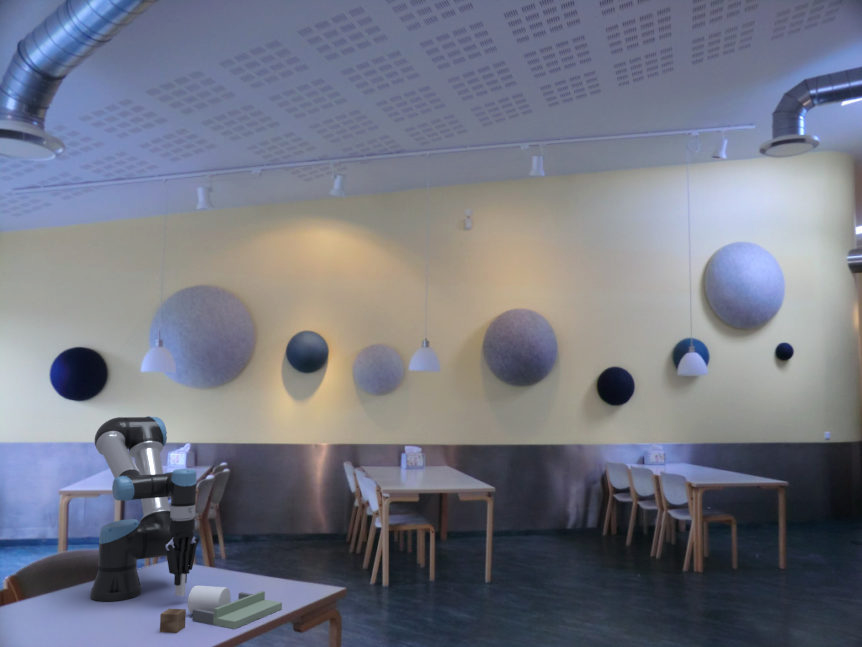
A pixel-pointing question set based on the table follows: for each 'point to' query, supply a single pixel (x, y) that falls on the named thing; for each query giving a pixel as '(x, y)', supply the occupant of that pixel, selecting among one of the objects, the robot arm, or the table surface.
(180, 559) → the robot arm
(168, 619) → the walnut block
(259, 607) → the green holder tray
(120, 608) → the table surface
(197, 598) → the mug
